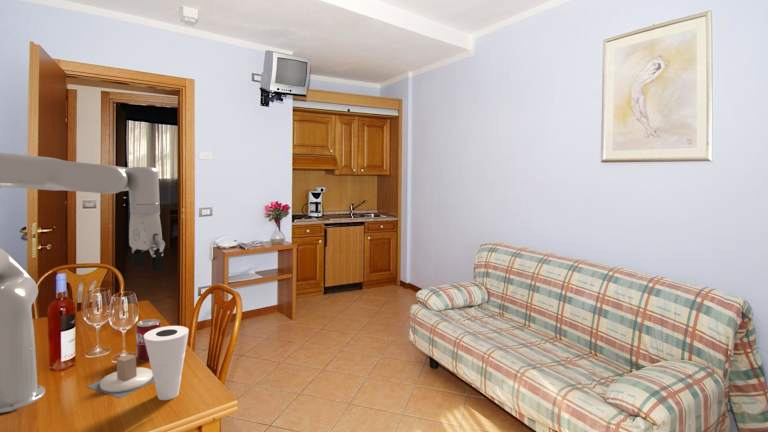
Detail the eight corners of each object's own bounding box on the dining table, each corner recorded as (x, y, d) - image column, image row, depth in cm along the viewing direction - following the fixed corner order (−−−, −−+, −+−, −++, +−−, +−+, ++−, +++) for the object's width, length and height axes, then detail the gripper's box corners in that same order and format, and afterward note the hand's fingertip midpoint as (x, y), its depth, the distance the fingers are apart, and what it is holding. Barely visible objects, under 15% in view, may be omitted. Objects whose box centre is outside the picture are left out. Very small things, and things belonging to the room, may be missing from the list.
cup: (183, 383, 122) (182, 323, 120) (195, 398, 114) (193, 334, 112) (142, 395, 115) (139, 331, 113) (151, 412, 107) (148, 344, 105)
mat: (119, 400, 112) (119, 398, 112) (86, 388, 118) (86, 386, 118) (165, 377, 125) (165, 375, 125) (133, 368, 130) (133, 366, 130)
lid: (120, 396, 113) (119, 371, 112) (89, 386, 118) (88, 362, 117) (163, 376, 125) (162, 353, 124) (133, 367, 130) (132, 345, 129)
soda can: (151, 364, 133) (150, 327, 132) (131, 361, 135) (130, 325, 134) (167, 354, 140) (166, 319, 139) (148, 352, 142) (147, 317, 141)
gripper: (116, 208, 123) (119, 266, 125) (148, 212, 114) (150, 274, 116) (142, 207, 130) (145, 261, 131) (174, 210, 120) (176, 269, 122)
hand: (147, 267), depth 123 cm, fingers open, 9 cm apart
